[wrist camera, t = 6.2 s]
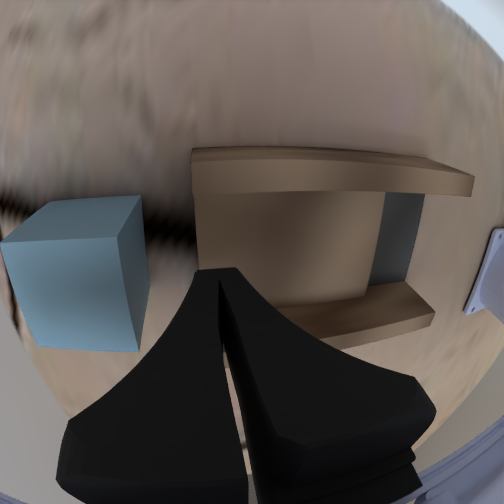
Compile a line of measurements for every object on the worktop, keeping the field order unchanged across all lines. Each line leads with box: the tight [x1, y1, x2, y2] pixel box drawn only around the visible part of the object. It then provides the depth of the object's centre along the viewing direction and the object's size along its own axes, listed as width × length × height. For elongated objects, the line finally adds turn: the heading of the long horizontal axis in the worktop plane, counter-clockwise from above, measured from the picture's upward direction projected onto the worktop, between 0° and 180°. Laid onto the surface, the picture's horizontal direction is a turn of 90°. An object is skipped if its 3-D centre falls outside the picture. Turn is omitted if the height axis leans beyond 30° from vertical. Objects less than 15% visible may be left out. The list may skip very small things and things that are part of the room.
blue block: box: [0, 195, 150, 352], centre depth 10 cm, size 4×4×4 cm
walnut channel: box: [191, 146, 475, 368], centre depth 12 cm, size 12×8×4 cm
